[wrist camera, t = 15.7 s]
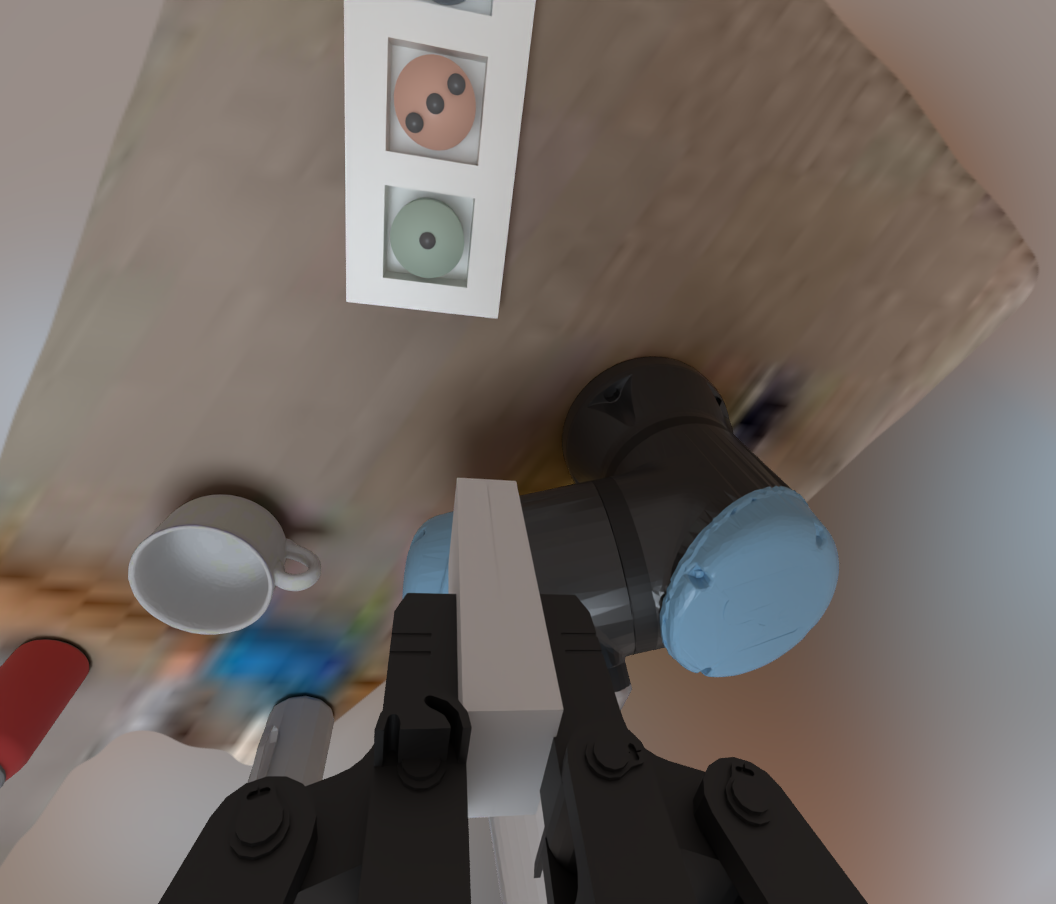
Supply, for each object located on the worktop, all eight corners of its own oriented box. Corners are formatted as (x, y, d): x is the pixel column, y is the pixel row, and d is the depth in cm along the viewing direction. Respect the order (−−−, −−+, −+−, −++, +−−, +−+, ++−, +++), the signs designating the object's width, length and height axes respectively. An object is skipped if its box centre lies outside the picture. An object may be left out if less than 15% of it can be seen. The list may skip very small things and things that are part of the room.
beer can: (98, 681, 57) (20, 799, 47) (26, 681, 56) (-71, 802, 45) (85, 635, 54) (-2, 750, 44) (8, 634, 53) (-100, 752, 42)
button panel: (545, -133, 32) (554, -158, 29) (494, 309, 44) (497, 318, 41) (351, -185, 30) (342, -217, 27) (352, 292, 42) (346, 301, 39)
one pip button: (466, 202, 39) (467, 206, 36) (460, 274, 42) (460, 282, 39) (395, 192, 38) (391, 195, 36) (392, 265, 41) (388, 274, 38)
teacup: (167, 560, 51) (122, 624, 44) (174, 463, 47) (127, 518, 40) (320, 586, 55) (301, 649, 48) (341, 499, 50) (324, 554, 43)
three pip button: (477, 69, 36) (480, 62, 33) (470, 156, 38) (471, 156, 35) (399, 54, 35) (394, 45, 32) (396, 144, 37) (392, 142, 34)
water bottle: (348, 722, 65) (298, 1007, 43) (285, 739, 65) (203, 1034, 43) (315, 673, 60) (240, 964, 39) (247, 692, 61) (134, 993, 39)
